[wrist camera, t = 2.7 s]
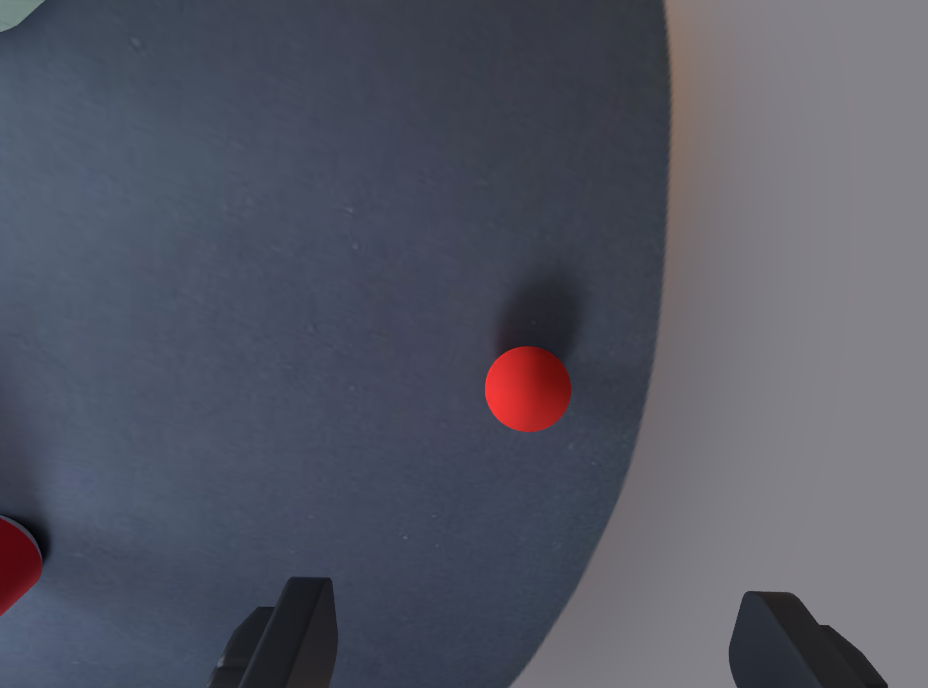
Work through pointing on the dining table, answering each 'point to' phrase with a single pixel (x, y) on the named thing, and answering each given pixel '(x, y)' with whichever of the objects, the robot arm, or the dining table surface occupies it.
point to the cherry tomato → (528, 389)
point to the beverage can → (17, 562)
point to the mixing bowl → (15, 11)
